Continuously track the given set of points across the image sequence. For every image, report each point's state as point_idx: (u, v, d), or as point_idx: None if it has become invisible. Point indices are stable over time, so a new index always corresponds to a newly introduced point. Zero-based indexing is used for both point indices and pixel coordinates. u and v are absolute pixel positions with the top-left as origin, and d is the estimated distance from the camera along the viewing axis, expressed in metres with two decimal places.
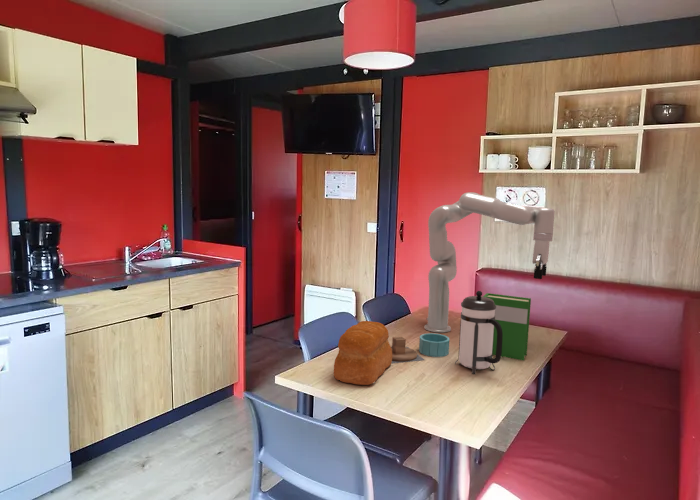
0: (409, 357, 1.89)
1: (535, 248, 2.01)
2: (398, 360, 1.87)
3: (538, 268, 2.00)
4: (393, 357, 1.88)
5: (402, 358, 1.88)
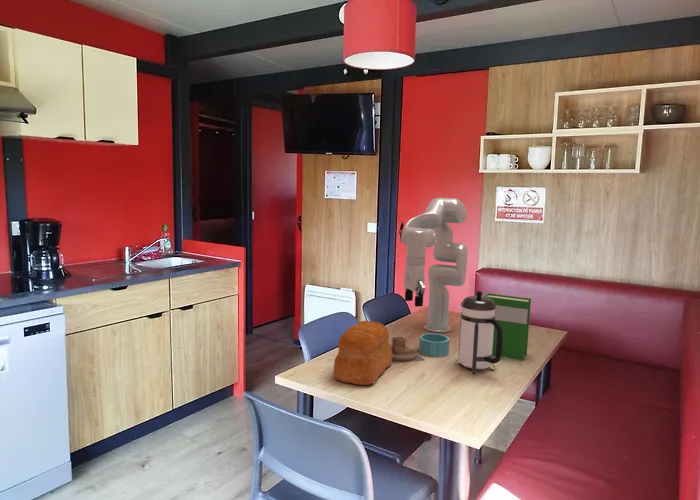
0: (409, 357, 1.89)
1: (415, 274, 1.86)
2: (398, 360, 1.87)
3: (421, 295, 1.86)
4: (393, 357, 1.88)
5: (402, 358, 1.88)
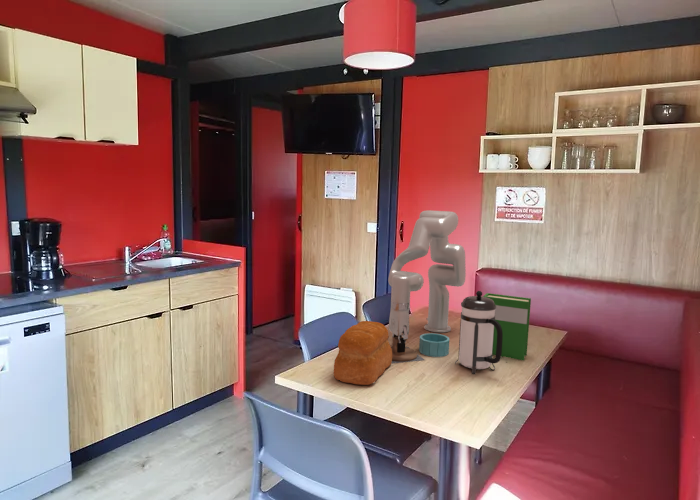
0: (409, 357, 1.89)
1: (400, 320, 1.87)
2: (398, 360, 1.87)
3: (403, 342, 1.90)
4: (393, 357, 1.88)
5: (402, 358, 1.88)
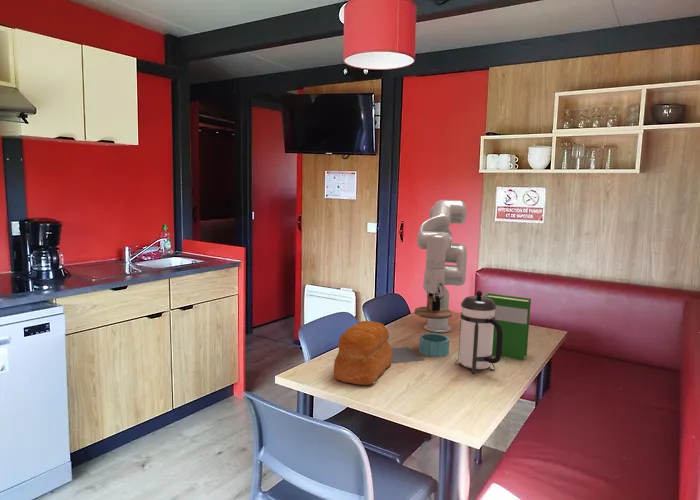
0: (444, 315, 1.92)
1: (436, 278, 1.90)
2: (434, 317, 1.89)
3: (438, 300, 1.92)
4: (429, 315, 1.91)
5: (438, 315, 1.90)
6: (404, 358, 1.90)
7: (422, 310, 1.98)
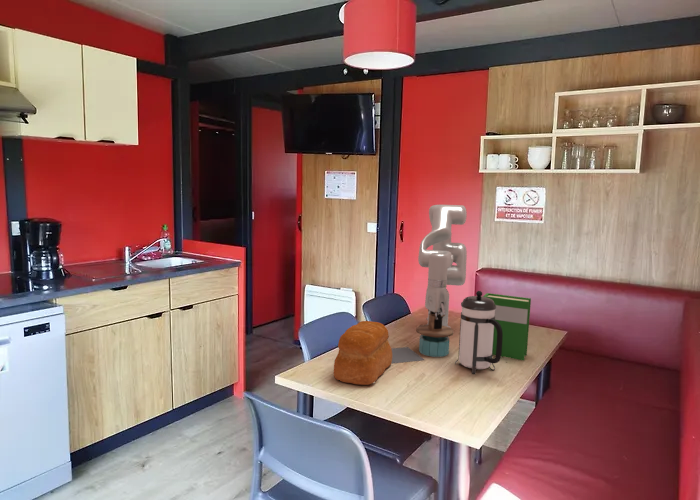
0: (446, 333, 1.93)
1: (438, 296, 1.91)
2: (436, 336, 1.90)
3: (440, 318, 1.93)
4: (431, 333, 1.92)
5: (440, 334, 1.91)
6: (404, 358, 1.90)
7: (424, 328, 1.99)
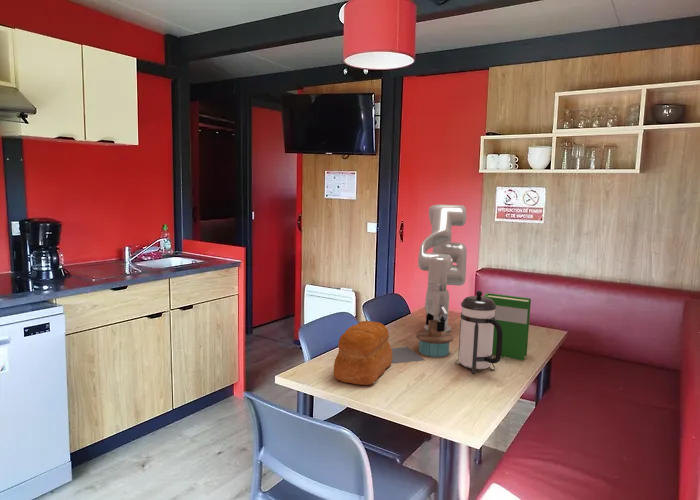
0: (446, 339, 1.93)
1: (438, 300, 1.91)
2: (436, 342, 1.91)
3: (443, 321, 1.91)
4: (430, 339, 1.93)
5: (439, 340, 1.92)
6: (404, 358, 1.90)
7: (424, 334, 1.99)
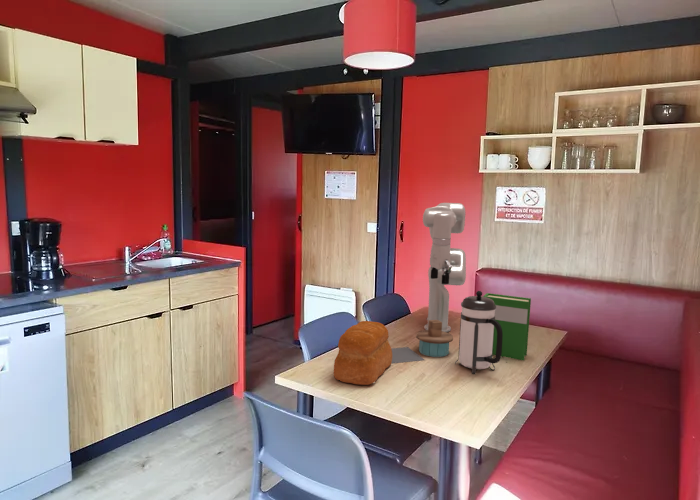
0: (446, 339, 1.93)
1: (442, 254, 2.00)
2: (436, 342, 1.91)
3: (447, 274, 2.00)
4: (430, 339, 1.93)
5: (439, 340, 1.92)
6: (404, 358, 1.90)
7: (424, 334, 1.99)
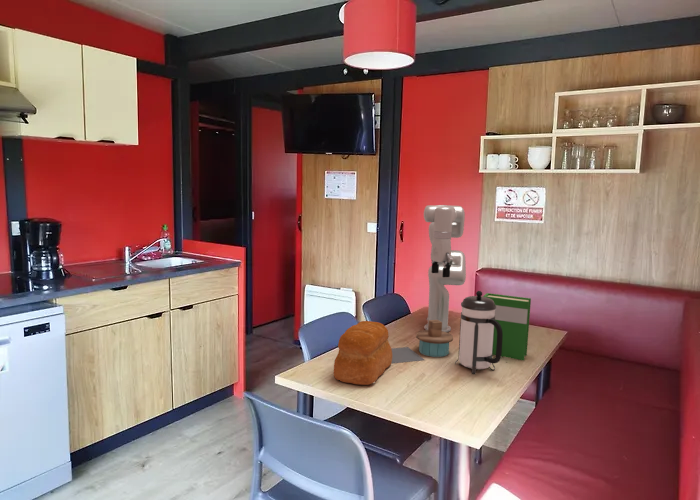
0: (446, 339, 1.93)
1: (443, 247, 2.02)
2: (436, 342, 1.91)
3: (448, 267, 2.02)
4: (430, 339, 1.93)
5: (439, 340, 1.92)
6: (404, 358, 1.90)
7: (424, 334, 1.99)
